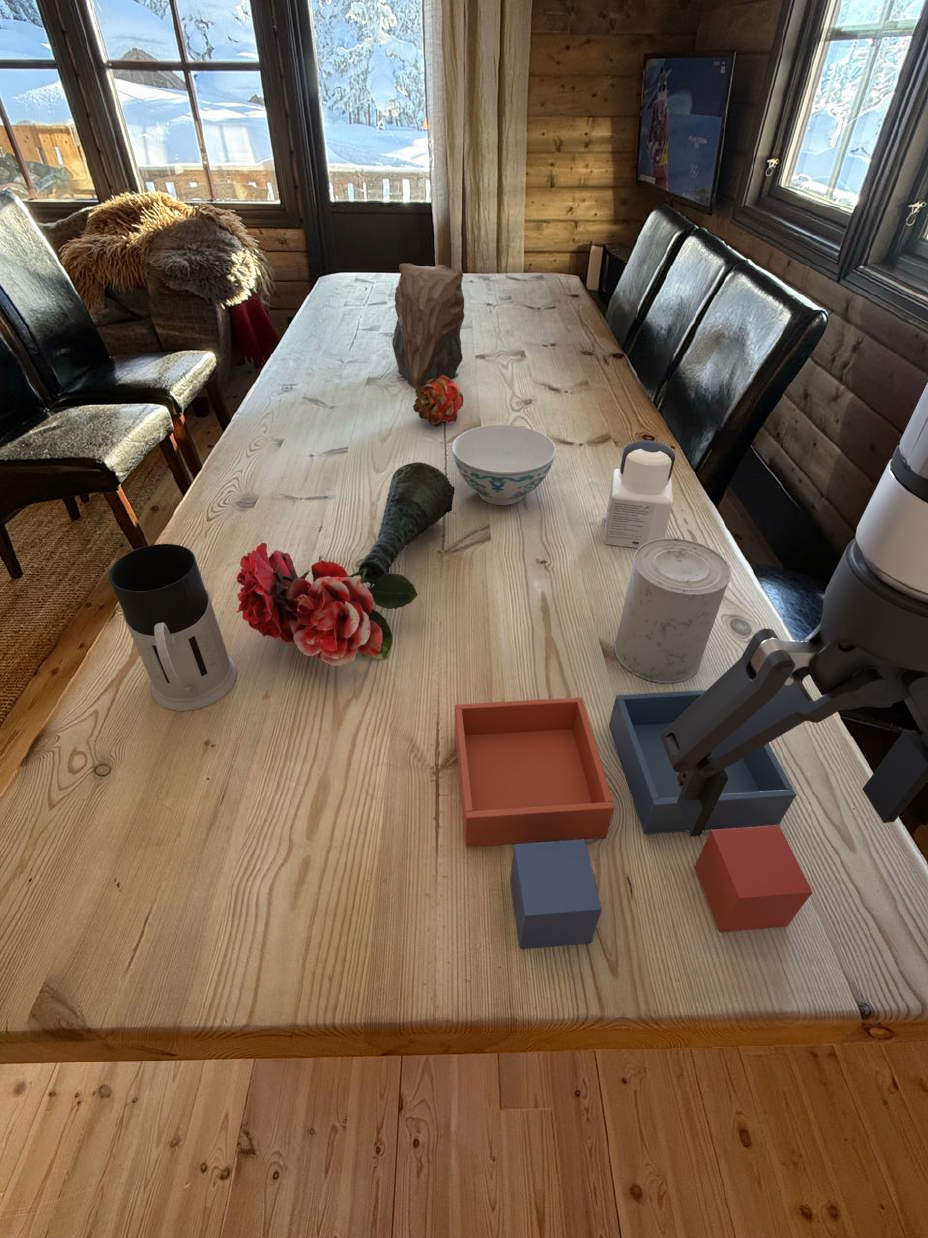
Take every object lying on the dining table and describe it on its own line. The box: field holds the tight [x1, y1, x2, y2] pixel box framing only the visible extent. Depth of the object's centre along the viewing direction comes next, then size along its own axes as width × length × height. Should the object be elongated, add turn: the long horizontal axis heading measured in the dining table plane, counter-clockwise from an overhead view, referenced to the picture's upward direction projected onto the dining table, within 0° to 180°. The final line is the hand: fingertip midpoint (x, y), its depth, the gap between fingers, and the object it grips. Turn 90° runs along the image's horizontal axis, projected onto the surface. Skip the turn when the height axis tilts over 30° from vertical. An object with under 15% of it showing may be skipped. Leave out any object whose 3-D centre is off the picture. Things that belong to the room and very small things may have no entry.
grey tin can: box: [613, 537, 732, 684], centre depth 70 cm, size 10×10×12 cm
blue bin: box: [608, 689, 797, 835], centre depth 60 cm, size 12×12×4 cm
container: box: [603, 439, 676, 549], centre depth 88 cm, size 8×8×13 cm
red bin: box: [454, 696, 616, 848], centre depth 59 cm, size 12×12×4 cm
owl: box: [391, 263, 465, 389], centre depth 130 cm, size 13×13×20 cm
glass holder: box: [108, 543, 238, 712], centre depth 63 cm, size 9×14×15 cm, turn 20°
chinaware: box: [451, 424, 557, 506], centre depth 98 cm, size 15×15×8 cm
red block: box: [694, 824, 814, 933], centre depth 51 cm, size 6×6×6 cm
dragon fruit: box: [412, 376, 465, 427], centre depth 118 cm, size 8×8×12 cm
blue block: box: [509, 839, 603, 950], centre depth 50 cm, size 6×6×6 cm
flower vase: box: [236, 461, 456, 667], centre depth 79 cm, size 16×18×35 cm
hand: (783, 812), depth 45 cm, fingers open, 13 cm apart
